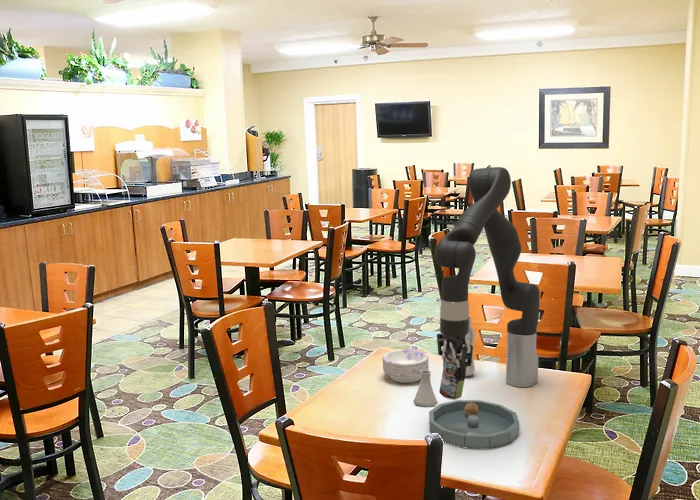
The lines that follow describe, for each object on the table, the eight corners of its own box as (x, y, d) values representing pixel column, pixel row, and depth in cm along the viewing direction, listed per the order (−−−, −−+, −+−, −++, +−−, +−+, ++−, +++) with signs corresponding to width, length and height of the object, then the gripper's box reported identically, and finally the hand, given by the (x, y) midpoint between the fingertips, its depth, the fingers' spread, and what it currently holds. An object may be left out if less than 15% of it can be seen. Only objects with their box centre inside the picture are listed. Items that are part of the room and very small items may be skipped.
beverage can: (437, 393, 185) (437, 351, 183) (463, 392, 186) (464, 350, 184) (442, 402, 179) (442, 359, 177) (469, 401, 180) (469, 358, 178)
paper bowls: (374, 381, 224) (374, 358, 222) (396, 367, 237) (396, 346, 235) (416, 389, 216) (416, 366, 215) (436, 375, 229) (436, 352, 227)
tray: (483, 405, 202) (483, 394, 202) (536, 437, 181) (536, 424, 180) (413, 421, 192) (413, 409, 192) (461, 456, 171) (461, 443, 170)
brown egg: (472, 412, 195) (473, 399, 194) (481, 417, 191) (481, 404, 191) (461, 415, 193) (461, 401, 193) (469, 420, 190) (469, 406, 189)
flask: (436, 408, 201) (436, 376, 199) (412, 406, 203) (412, 375, 201) (438, 399, 208) (438, 368, 206) (414, 397, 210) (414, 366, 208)
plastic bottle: (477, 373, 229) (477, 316, 226) (471, 379, 223) (472, 321, 220) (458, 370, 232) (458, 314, 229) (452, 377, 226) (453, 319, 223)
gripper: (482, 320, 173) (481, 382, 176) (451, 307, 186) (451, 366, 189) (457, 324, 170) (457, 387, 173) (428, 311, 183) (428, 370, 186)
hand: (454, 376), depth 181 cm, fingers closed on beverage can, 6 cm apart
